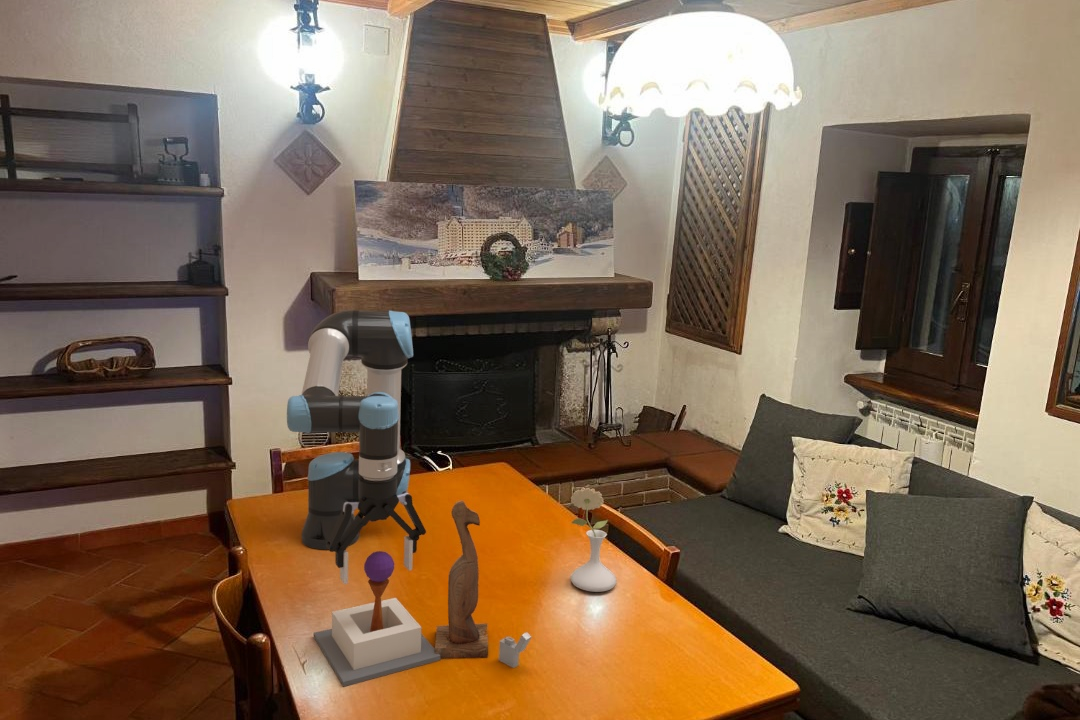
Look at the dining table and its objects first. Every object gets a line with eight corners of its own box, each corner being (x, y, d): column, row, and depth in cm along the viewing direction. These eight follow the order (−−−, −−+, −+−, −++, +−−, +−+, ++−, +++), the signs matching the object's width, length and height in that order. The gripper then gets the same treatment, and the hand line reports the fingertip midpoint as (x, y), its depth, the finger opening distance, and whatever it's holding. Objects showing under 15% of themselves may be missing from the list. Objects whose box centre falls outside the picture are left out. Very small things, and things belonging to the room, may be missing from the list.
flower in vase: (622, 582, 198) (629, 487, 194) (606, 600, 188) (613, 501, 184) (574, 570, 204) (580, 478, 199) (556, 588, 194) (562, 491, 189)
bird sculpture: (491, 659, 162) (498, 511, 156) (434, 662, 160) (438, 512, 154) (486, 631, 173) (492, 492, 167) (432, 633, 171) (436, 492, 165)
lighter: (498, 660, 161) (499, 624, 159) (504, 656, 162) (505, 621, 161) (524, 674, 156) (526, 637, 155) (530, 670, 158) (532, 633, 156)
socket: (313, 637, 166) (313, 608, 165) (402, 616, 176) (403, 589, 175) (343, 686, 149) (343, 655, 148) (440, 660, 160) (441, 630, 159)
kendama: (368, 654, 159) (372, 560, 155) (356, 640, 163) (359, 549, 160) (395, 646, 162) (399, 555, 159) (383, 633, 167) (387, 544, 163)
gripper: (320, 490, 146) (321, 595, 151) (443, 472, 160) (440, 569, 164) (309, 477, 153) (310, 578, 157) (428, 461, 166) (426, 555, 170)
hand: (376, 574), depth 160 cm, fingers open, 13 cm apart
